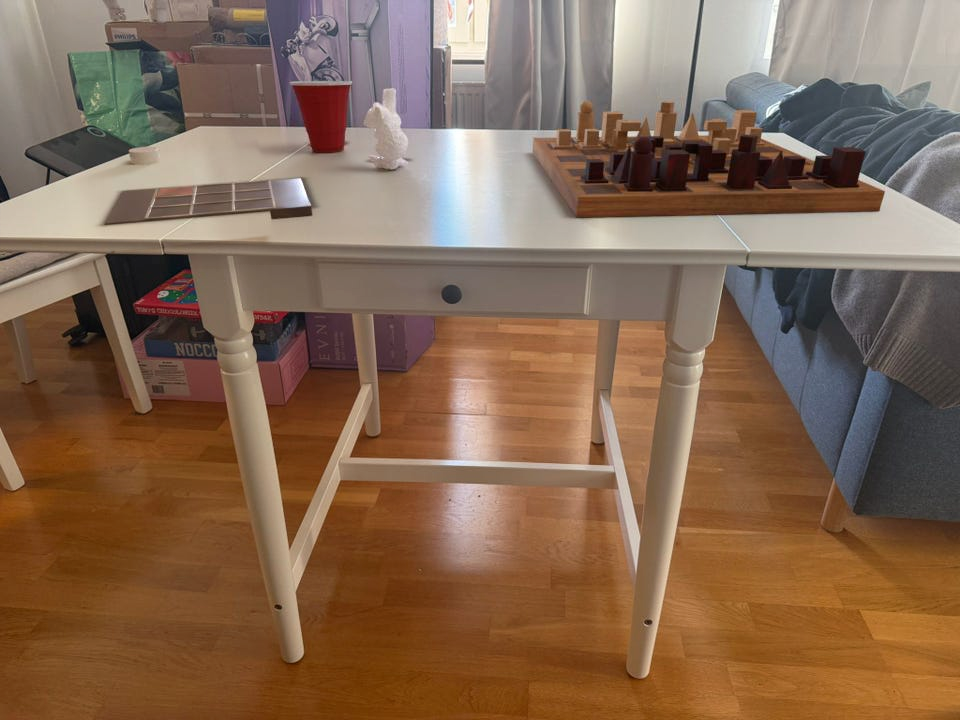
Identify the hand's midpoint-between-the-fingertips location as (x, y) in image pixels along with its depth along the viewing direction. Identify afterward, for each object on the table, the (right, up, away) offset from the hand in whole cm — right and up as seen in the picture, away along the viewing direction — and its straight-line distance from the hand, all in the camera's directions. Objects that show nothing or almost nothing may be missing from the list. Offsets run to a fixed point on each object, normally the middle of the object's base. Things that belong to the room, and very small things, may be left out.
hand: (139, 21), depth 105 cm
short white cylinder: (-1, -21, +5) cm, 22 cm away
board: (+18, -33, -15) cm, 40 cm away
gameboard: (+84, -25, -1) cm, 88 cm away
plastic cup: (+25, -15, +18) cm, 35 cm away
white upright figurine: (+39, -21, +6) cm, 45 cm away
